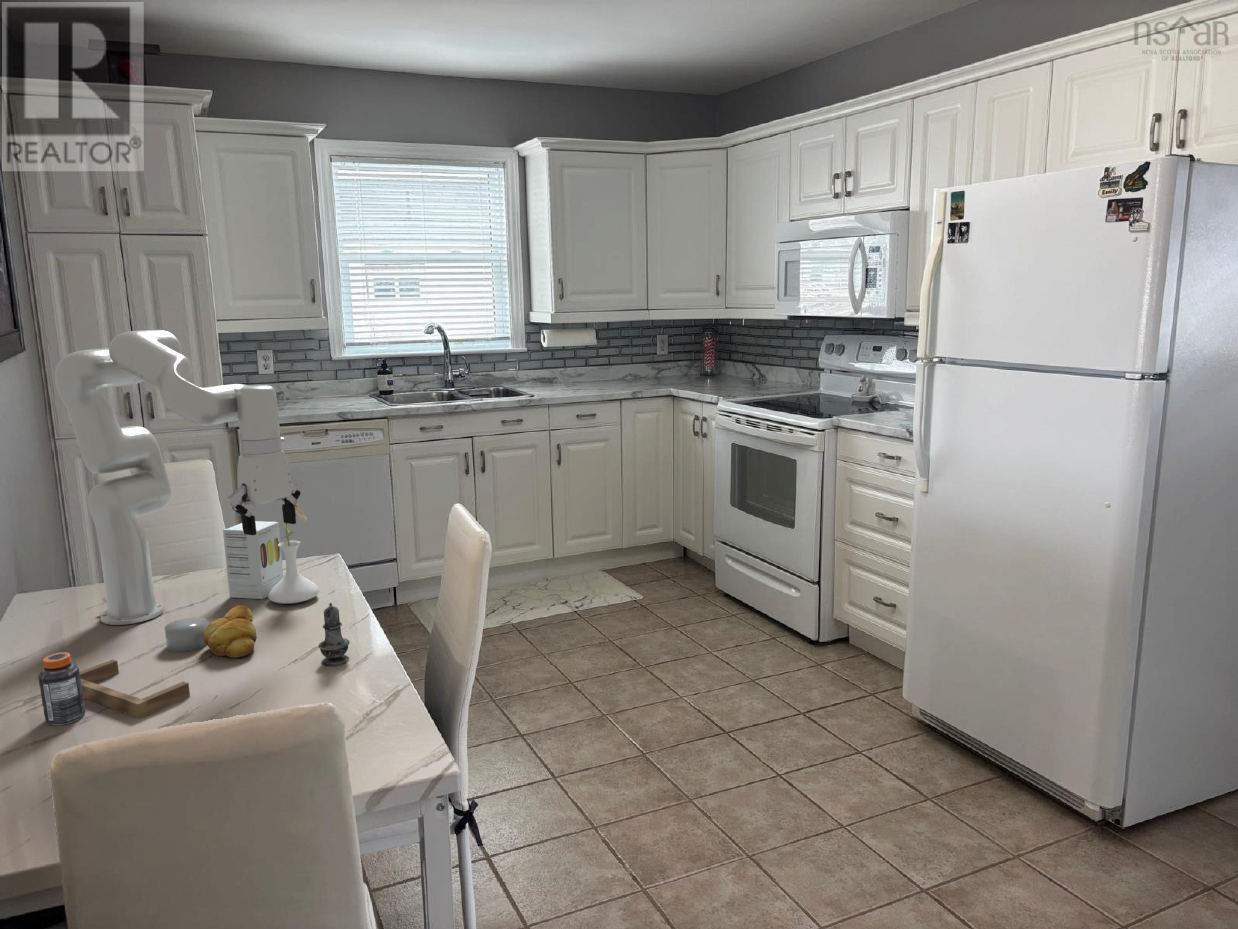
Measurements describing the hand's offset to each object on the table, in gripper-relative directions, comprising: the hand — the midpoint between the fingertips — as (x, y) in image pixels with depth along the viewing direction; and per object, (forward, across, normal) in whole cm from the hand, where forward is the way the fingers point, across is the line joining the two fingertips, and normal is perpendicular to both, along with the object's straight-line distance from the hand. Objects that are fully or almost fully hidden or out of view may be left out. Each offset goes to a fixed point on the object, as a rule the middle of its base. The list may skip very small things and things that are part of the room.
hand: (270, 528), depth 184 cm
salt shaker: (+24, +4, +20) cm, 31 cm away
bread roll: (+24, +10, -3) cm, 26 cm away
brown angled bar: (+23, +32, -2) cm, 40 cm away
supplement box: (+23, -16, -29) cm, 41 cm away
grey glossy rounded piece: (+23, +12, -14) cm, 30 cm away
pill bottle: (+24, +43, -2) cm, 49 cm away
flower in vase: (+24, -18, -17) cm, 34 cm away
